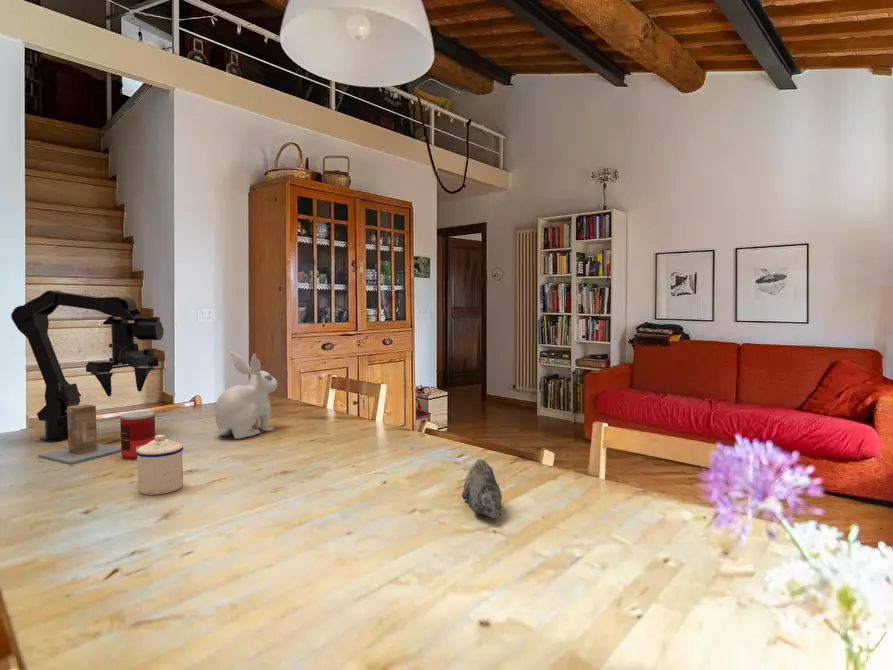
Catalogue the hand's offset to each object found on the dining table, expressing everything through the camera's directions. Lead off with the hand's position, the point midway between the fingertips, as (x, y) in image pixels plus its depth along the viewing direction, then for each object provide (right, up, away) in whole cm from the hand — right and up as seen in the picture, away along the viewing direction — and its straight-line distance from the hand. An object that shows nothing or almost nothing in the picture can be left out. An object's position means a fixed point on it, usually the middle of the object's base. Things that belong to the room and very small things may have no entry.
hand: (124, 393), depth 164 cm
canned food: (+13, -15, -17) cm, 26 cm away
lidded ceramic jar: (+30, -16, -41) cm, 54 cm away
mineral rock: (+100, -18, -53) cm, 115 cm away
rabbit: (+33, -13, +8) cm, 37 cm away
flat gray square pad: (-2, -14, -16) cm, 21 cm away
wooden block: (-2, -14, -16) cm, 21 cm away
